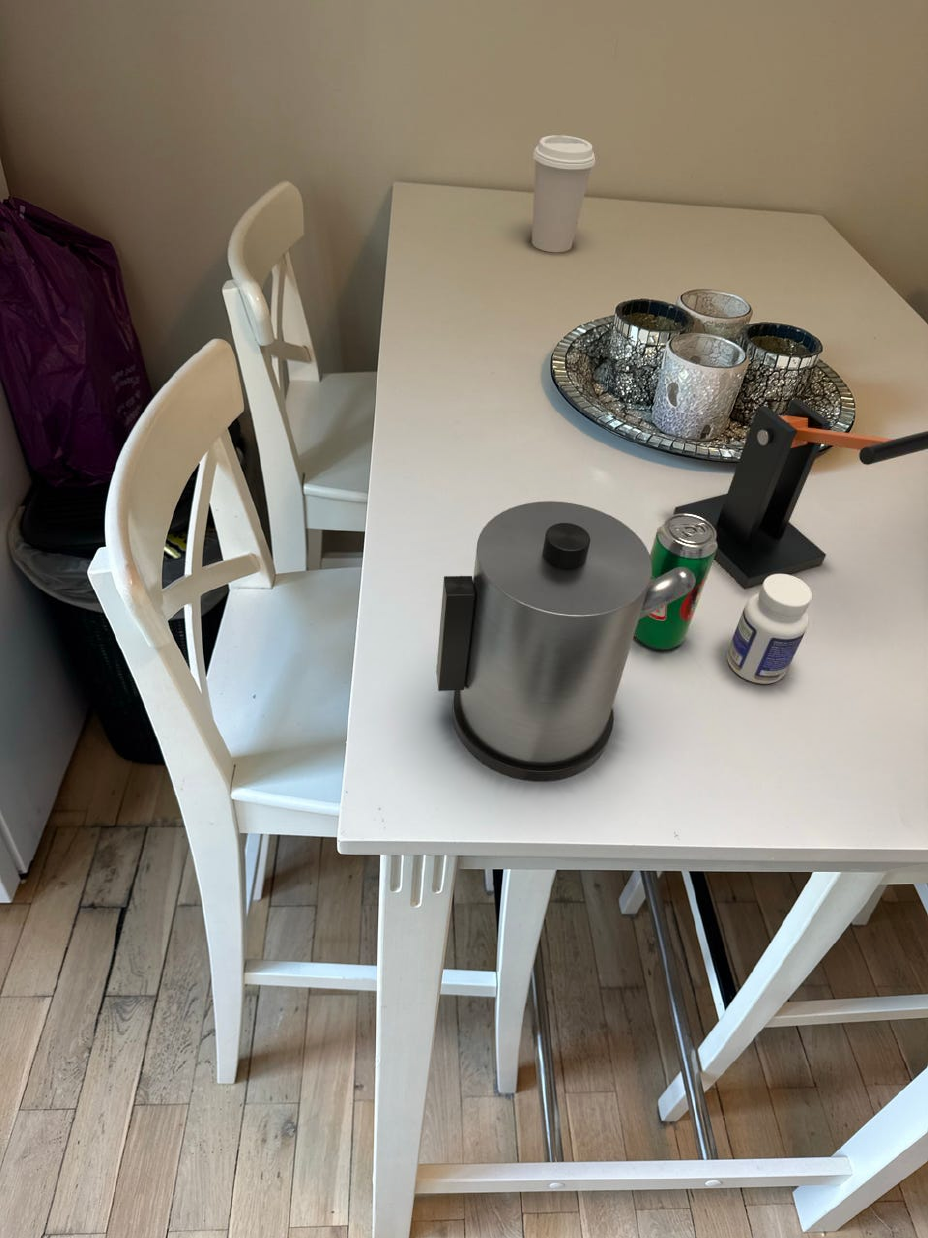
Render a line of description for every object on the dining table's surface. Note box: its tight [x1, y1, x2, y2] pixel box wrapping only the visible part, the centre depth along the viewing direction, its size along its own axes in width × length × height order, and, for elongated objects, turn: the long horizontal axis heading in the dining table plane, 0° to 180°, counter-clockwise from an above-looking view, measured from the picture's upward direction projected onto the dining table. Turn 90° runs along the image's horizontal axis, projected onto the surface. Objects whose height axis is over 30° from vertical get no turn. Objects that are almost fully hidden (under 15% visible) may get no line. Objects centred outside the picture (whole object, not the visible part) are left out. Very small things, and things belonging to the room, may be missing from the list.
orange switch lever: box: [779, 415, 928, 466], centre depth 77 cm, size 14×7×2 cm, turn 26°
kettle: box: [435, 500, 695, 782], centre depth 65 cm, size 18×13×19 cm
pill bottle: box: [726, 574, 813, 685], centre depth 75 cm, size 5×5×9 cm
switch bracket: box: [672, 398, 831, 589], centre depth 85 cm, size 12×10×15 cm
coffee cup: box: [531, 134, 596, 254], centre depth 137 cm, size 10×10×15 cm
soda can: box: [634, 514, 718, 650], centre depth 76 cm, size 5×5×12 cm
